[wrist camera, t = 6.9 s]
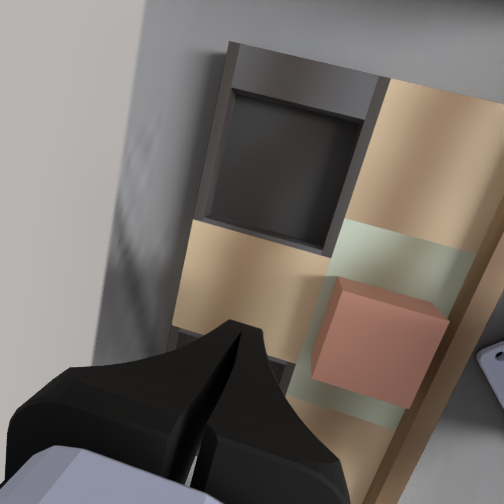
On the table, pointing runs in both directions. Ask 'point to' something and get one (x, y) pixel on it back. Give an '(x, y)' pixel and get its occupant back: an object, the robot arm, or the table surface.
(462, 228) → the trap board
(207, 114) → the table surface
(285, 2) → the table surface
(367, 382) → the tile block
